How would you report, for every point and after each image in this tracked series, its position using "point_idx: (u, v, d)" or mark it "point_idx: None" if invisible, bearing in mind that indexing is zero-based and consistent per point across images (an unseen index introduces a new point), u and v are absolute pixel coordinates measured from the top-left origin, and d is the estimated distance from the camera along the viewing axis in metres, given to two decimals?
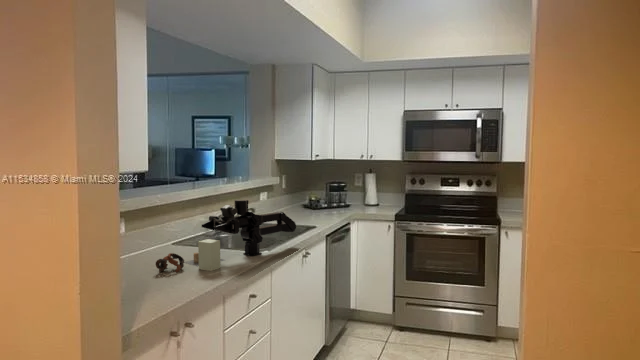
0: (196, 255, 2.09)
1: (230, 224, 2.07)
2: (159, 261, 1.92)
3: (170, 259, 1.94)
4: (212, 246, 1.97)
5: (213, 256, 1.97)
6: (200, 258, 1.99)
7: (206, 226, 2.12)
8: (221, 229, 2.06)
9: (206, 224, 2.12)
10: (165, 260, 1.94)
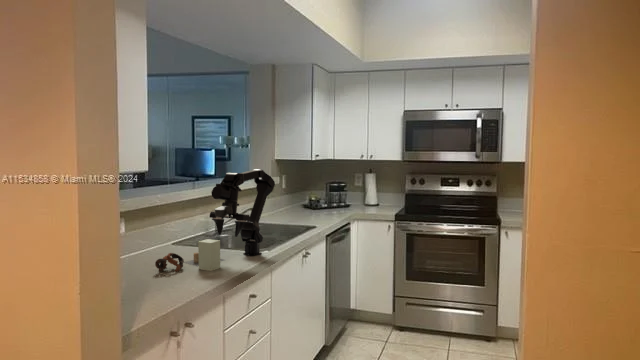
0: (196, 255, 2.09)
1: (241, 222, 2.08)
2: (159, 261, 1.93)
3: (170, 259, 1.95)
4: (212, 246, 1.97)
5: (213, 256, 1.97)
6: (200, 258, 1.99)
7: (221, 228, 2.14)
8: (239, 230, 2.10)
9: (219, 229, 2.14)
10: (165, 260, 1.95)
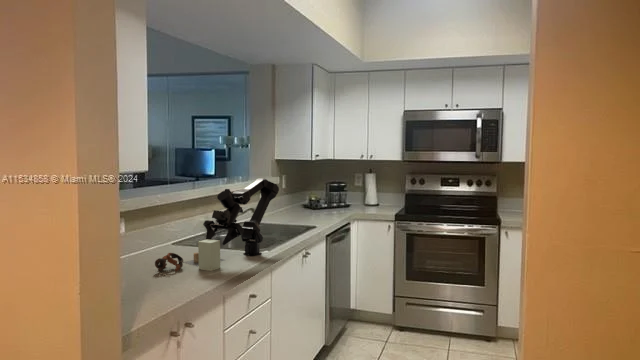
0: (196, 255, 2.09)
1: (233, 231, 2.02)
2: (158, 261, 1.93)
3: (169, 258, 1.95)
4: (212, 246, 1.97)
5: (213, 256, 1.97)
6: (200, 258, 1.99)
7: (210, 238, 2.07)
8: (229, 240, 2.02)
9: (208, 237, 2.06)
10: (164, 260, 1.95)
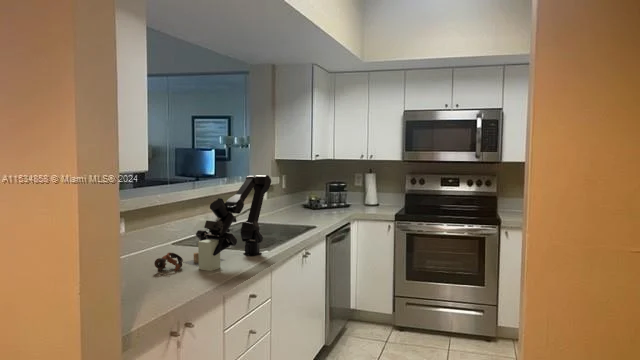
0: (196, 255, 2.09)
1: (224, 241, 1.99)
2: (158, 260, 1.93)
3: (169, 258, 1.96)
4: (212, 246, 1.97)
5: (213, 256, 1.97)
6: (200, 258, 1.99)
7: None
8: (219, 250, 1.99)
9: None
10: (164, 259, 1.95)
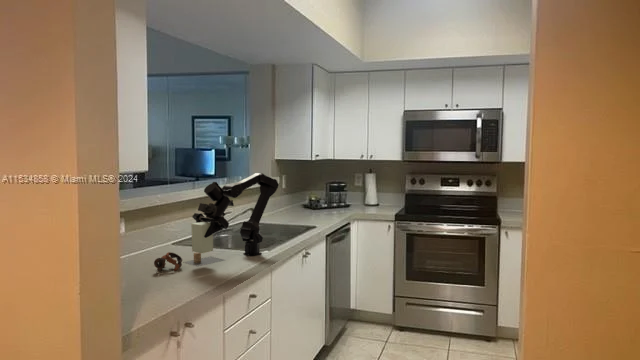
0: (196, 255, 2.09)
1: (215, 224, 2.01)
2: (158, 260, 1.94)
3: (168, 258, 1.96)
4: (203, 228, 2.00)
5: (204, 238, 2.01)
6: (193, 240, 2.03)
7: None
8: (211, 233, 2.02)
9: None
10: (163, 259, 1.96)
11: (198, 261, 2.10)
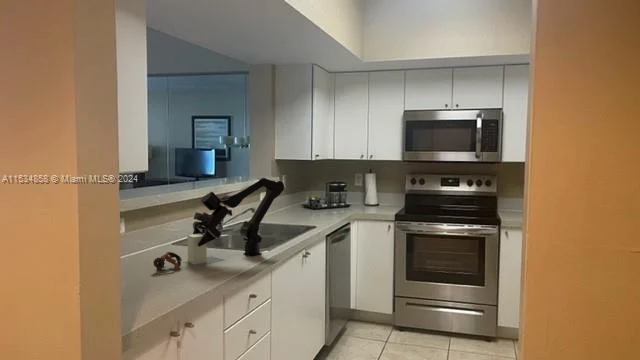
0: None
1: (208, 233, 2.06)
2: (157, 260, 1.94)
3: (168, 258, 1.97)
4: (195, 240, 2.07)
5: (197, 250, 2.07)
6: (188, 251, 2.11)
7: None
8: (204, 242, 2.07)
9: None
10: (163, 259, 1.96)
11: None
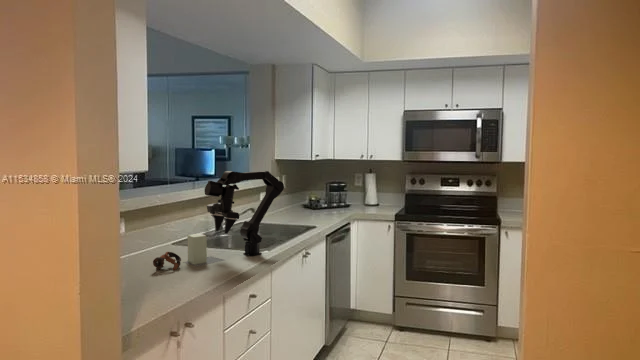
0: None
1: (228, 219, 2.11)
2: (157, 259, 1.95)
3: (167, 257, 1.97)
4: (195, 240, 2.07)
5: (197, 250, 2.07)
6: (188, 251, 2.11)
7: (219, 225, 2.21)
8: (229, 227, 2.13)
9: (217, 225, 2.21)
10: (162, 258, 1.97)
11: None
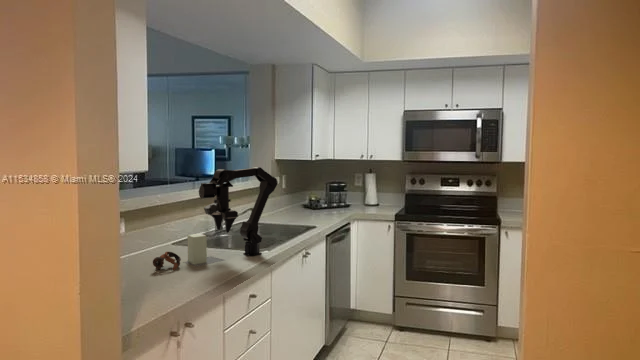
0: None
1: (227, 219, 2.10)
2: (156, 259, 1.95)
3: (167, 257, 1.97)
4: (195, 240, 2.07)
5: (197, 250, 2.07)
6: (188, 251, 2.11)
7: (219, 223, 2.21)
8: (230, 226, 2.13)
9: (217, 224, 2.21)
10: (162, 258, 1.97)
11: None
